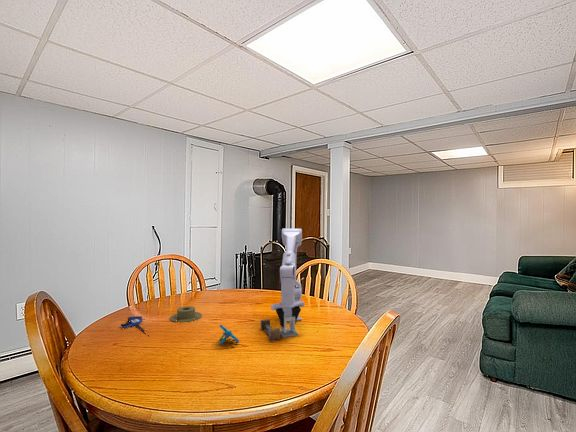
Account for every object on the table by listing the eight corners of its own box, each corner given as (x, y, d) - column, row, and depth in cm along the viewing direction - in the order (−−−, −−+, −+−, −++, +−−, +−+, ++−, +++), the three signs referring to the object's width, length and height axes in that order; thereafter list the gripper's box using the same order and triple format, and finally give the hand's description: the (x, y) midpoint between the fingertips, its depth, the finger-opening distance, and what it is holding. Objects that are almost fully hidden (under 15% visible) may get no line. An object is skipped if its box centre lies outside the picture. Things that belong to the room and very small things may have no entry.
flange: (162, 311, 145) (187, 315, 139) (184, 303, 159) (208, 306, 153) (162, 321, 145) (187, 325, 139) (184, 312, 159) (208, 315, 153)
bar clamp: (116, 319, 140) (139, 314, 147) (116, 324, 140) (139, 319, 147) (140, 342, 117) (166, 335, 124) (140, 349, 117) (166, 341, 124)
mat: (277, 331, 131) (277, 330, 131) (292, 329, 133) (292, 328, 133) (282, 337, 124) (282, 336, 124) (298, 335, 127) (298, 333, 127)
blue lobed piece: (243, 342, 116) (224, 325, 114) (232, 355, 114) (213, 338, 112) (236, 335, 126) (219, 320, 124) (227, 347, 124) (209, 332, 122)
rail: (260, 329, 134) (260, 320, 134) (269, 327, 135) (269, 318, 135) (270, 341, 120) (270, 331, 120) (279, 340, 122) (279, 330, 122)
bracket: (280, 329, 130) (280, 315, 130) (291, 327, 131) (291, 313, 131) (284, 332, 126) (284, 318, 126) (295, 331, 128) (295, 316, 128)
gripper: (274, 297, 122) (274, 330, 122) (307, 293, 128) (307, 326, 128) (269, 293, 129) (269, 324, 129) (300, 290, 134) (300, 320, 134)
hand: (287, 325), depth 129 cm, fingers closed on bracket, 5 cm apart
